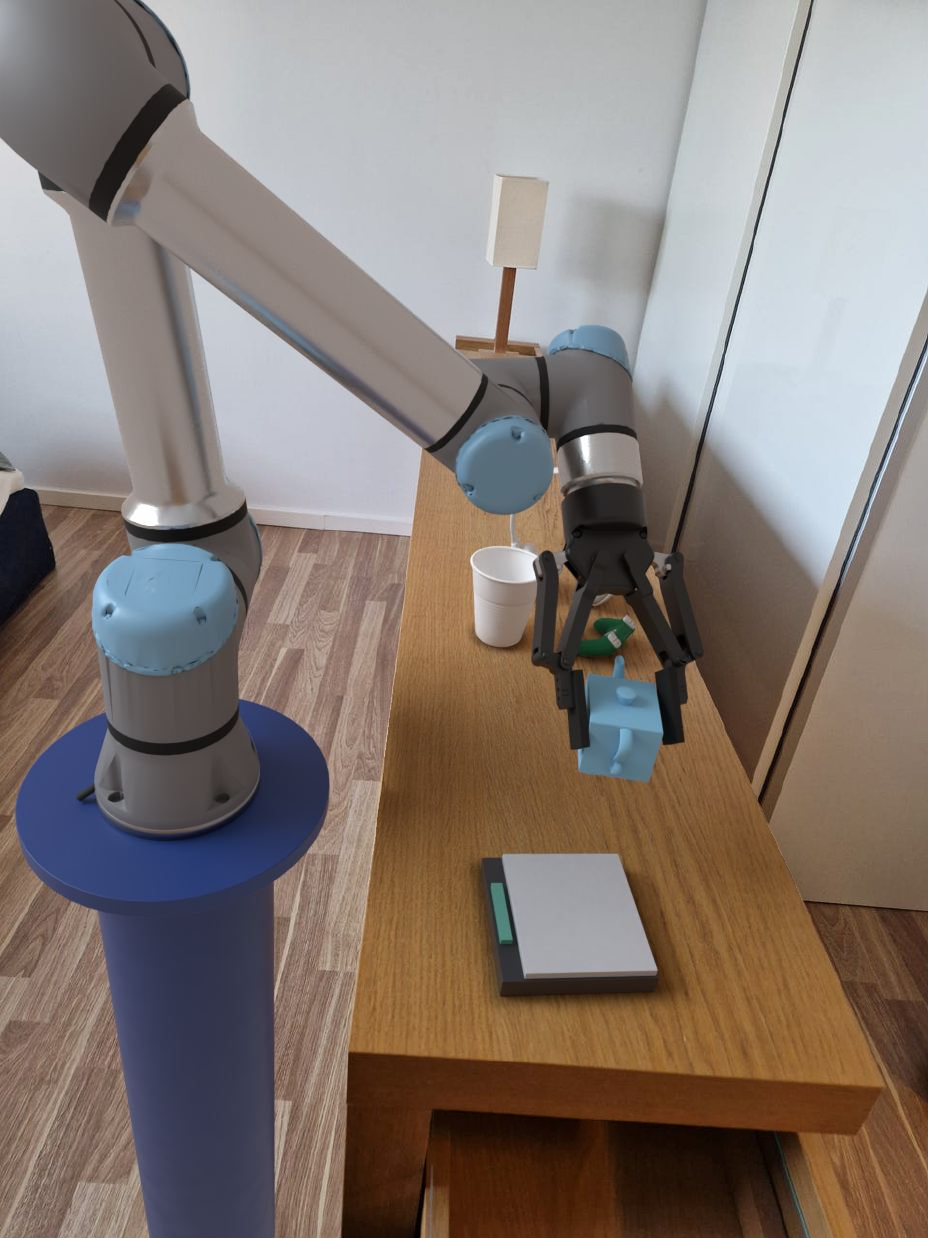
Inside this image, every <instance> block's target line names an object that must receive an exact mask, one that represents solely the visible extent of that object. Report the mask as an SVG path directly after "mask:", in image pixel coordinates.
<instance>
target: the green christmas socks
mask: <svg viewBox="0 0 928 1238" xmlns="http://www.w3.org/2000/svg"><path fill="white" fill-rule="evenodd" d="M593 629H594V630H595V632H597V633H599V634H602V637H599V638H598V637H597V638H591V639H590V638H589V639H582V640H581V643H580V647H579V650H578V653H577V656H580V657H586V658H601V657H611V656H613V654H615V653H617V652H618V651H619V650H620V649H621V648H622V647H623V645H624V644H625V643H626V642H627V640H629V638H630V637H631V635H633V633H634V632H635V631H636V624H635V622H634V621H633V619H632V618H631V617H630V616H629V615H628V614H626V615H625V616H624V617H622V618H613V617H600V618H597V619H596V620H595V621H594V622H593Z"/></svg>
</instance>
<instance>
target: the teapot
mask: <svg viewBox="0 0 928 1238" xmlns="http://www.w3.org/2000/svg"><path fill="white" fill-rule="evenodd" d="M625 664H626V662H625V659H624V657H623V656H622V655H617V656H616V657H615V659H614V668H613V671H612V675H611V676H609V675H602V674H596V673H587V676H586V679H585V683H584V684H585V695H586V706H587V717H588V728H589V739H590V747H587V748H583V749H578V750H577V765H578V773H583V774H586V775H589V776H594V775H595V776H604V777H610V778H617V779H623V780H627V781H629V782H644V783H650V778H651V776H652V773H653V770H654V766H655V763H656V761H657V760H656V759H657V756H658V753H659V750H660V746H661V744H662V737H663V728H662V722H661V715H660V709H659V703H658V698H657V690H656V682H649V681H643V680H636V679H631V678H630V679H629V678H626V677H625V669H626V668H625V667H626V665H625Z"/></svg>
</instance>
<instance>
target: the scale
mask: <svg viewBox="0 0 928 1238" xmlns="http://www.w3.org/2000/svg"><path fill="white" fill-rule="evenodd" d="M479 874H480V882H481V887H482V892H483V893H482V894H483V899H484V907H485V912H486V918H487V925H488V931H489V937H490V944H491V949H492V956H493V962H494V969H495V977H496V981H497V987H498V993H499V997H505V996H508V997H509V996H540V995H542V996H545V995H547V996H549V995H578V994H579V995H580V994H581V995H583V994H615V993H618V994H619V993H620V994H621V993H649V992H650V993H653V992H655V990H656V987H657V984H658V982H659V979H660V977H659V974H658V971H659V970H658V967H657V964H656V961H655V958H654V954H653V952H652V950H651V946H650V944H649V940H648V938H647V935H646V932H645V928H644V925H643V923H642V919H641V917H640V914H639V911H638V908H637V905H636V903H635V899H634V896H633V894H632V890H631V887H630V884H629V882H628V879H627V876H626V873H625V869H624V867H623V863H622V861H621V858H620V854H619V853H502V857H482V858H481V862H480V869H479Z"/></svg>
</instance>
